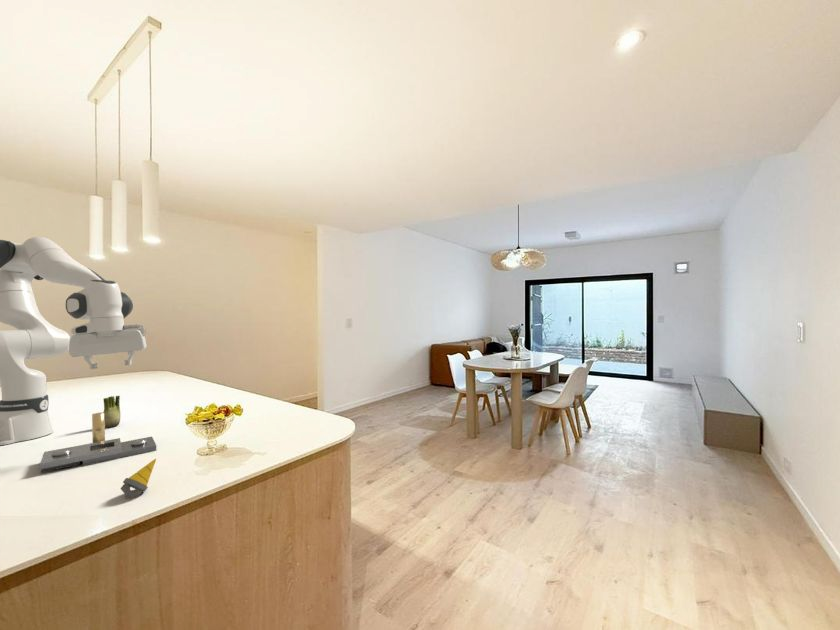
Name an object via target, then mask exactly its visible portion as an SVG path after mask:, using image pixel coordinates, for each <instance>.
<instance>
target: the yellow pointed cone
mask: <svg viewBox="0 0 840 630" xmlns="http://www.w3.org/2000/svg"><path fill="white" fill-rule="evenodd" d="M156 460H157V458H155V459H153V460H152V461H150V462H149V463H148V464H146V465H145V466H144V467H141V468H140V469H139V470H138V471H136V472H135V473H134V474H132V475H131V476H129V477H126V478H125V479H124V480H123V482H122V483H123V484H122V486H121V487H120V490H121V491H122V493H123V495H125V497H124V499H126V500H127V499H131V498H132V499H133V498H137V497H140V495H141V494H142V493H143V492H144V493H145V492H146V491H147V489H148V488H149V487H148V483H149V481H150V478H151V475H152V472H153V470H154V466H155V463H156ZM131 488H132V489H131Z"/></svg>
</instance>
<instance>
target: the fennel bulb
mask: <svg viewBox="0 0 840 630" xmlns="http://www.w3.org/2000/svg"><path fill="white" fill-rule="evenodd" d="M120 399H121V396H120V395H115V396H114V395H112V396H108V397H105V398H103V412H104V413H105V428H113V427H117V426H119V425H120V422H121V407H120V405H121V404H120Z"/></svg>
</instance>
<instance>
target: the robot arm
mask: <svg viewBox="0 0 840 630" xmlns="http://www.w3.org/2000/svg"><path fill="white" fill-rule="evenodd" d="M34 279H35V280H36V281H43V280H45V281H47V282H50V283H56V284H60V285H61V284H62V285H69V286H74V287H79V288H83V289H81V290H79V291H77V292H73V293H71V294H70V295H69V296H68V297H67V298H66V300H65V310H66V312H67V314H69V316H71V318H74V319H76V320H89V322H87V323H83V324H81V325H78V326H74V327H72V328H71V329H70V332H71V334H72V335H70V334H69V333H68V332H67V331H65V330H64V329H60V328H59V327H56V326H54V325H53V324H52V323H50V322H49V321H47V319H45V317H44V316H43V315H42V314H41V312H40V309H39V307H38V304H37V302H36V301H37V300H36V298H35V294H34V290H33V288H32V281H33V280H34ZM133 309H134V305H133V301H132V299H131V298H130V296H129V295H127V294H126V293H125V292H122V291H121V289H120V286H119V283H118V282H116V281H115V280H106V279H105V278H103V277H102V276H101V275H99V274H98V273H97V272H95V271H94V270H92V269H91V268H90V267H89V268H88V267H87V266H85V265H83V264H82V263H80V262H79V261H77V260H76V259H74V258H73V257H71V256H70V255H69V253H67V252H66V251H65V249H63V248H62V246H60V245H59V244H57V243H56V242H54V240H52V239H50V238H47V237H44V236H33V237H31V238H30V237H29V238H27V239H26V240H25V241H24V242H23V243H19V242H15V241H10V240H4V239H0V323H2V324H4V325H9V326H11V327H13V328H15V329H0V389H1V390H0V391H1V400H0V446H5V445H10V444H13V443H18V442H23V441H29V440H33V439H37V438H41V437H45V436H47V435H50V434H51V433H53V432H54V429H53V427H52V425H51V421H50V417H49V411H48V410H49V395H48V394H47V388H48V387H47V375H46V374H45V373H44V372H43V371H40V370H39V369H38V370H37V369H36V368H31V367H27V366H26V364H25V360H34V359H46V358H52V357H56V356H61V355H65V354H67V352H68V353H69V356H71V357H72V358H78V357H83V358H84V361H85V362H86V363H87V364H88V365H89V370H96V369H98V363H95V362H93V360H92V359H93V356H97V355H109V354H110V355H111V354H117V353H126V352H127V355H128V358H127V359H124V365H125V366H131V365H132V362H133V361H132V360H133V358H134V356H135V354H136V352H138V351H144V350H146V348H147V346H148V345H147V340H146V337H145V336H146V328H145V327H144V326H143V325H140V324H137V323H136V324H125V318H126V317H128V316H129V315H130V314H131V312H132V311H133Z"/></svg>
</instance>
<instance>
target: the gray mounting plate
mask: <svg viewBox="0 0 840 630" xmlns="http://www.w3.org/2000/svg"><path fill="white" fill-rule="evenodd" d="M155 451H157V444H156V442H155V440H154V437H153V436H146V437H142V438H137V439H132V440H131V439H130V440H127V441H121V438H120V437H118V438H113V439H112V438H111V439H107V440H106V439H105V441H101V442H96V443H93V442H91V443H90V442H89V443H86V444H80V445H75V446H69V447H64V448H63V447H62V448H59V449H52V450H47V451H44V452H43V455H42V457H41V460H40V463H39V470H40V473H46V472H50V471H55V470H59V469H65V468H68V467H75V466H79V465H81V462H82V466H89V465H93V464H99V463H103V462H107V461H112V460H117V459H122V458H127V457H130V456H135V455H140V454H146V453H150V452H155Z"/></svg>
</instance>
